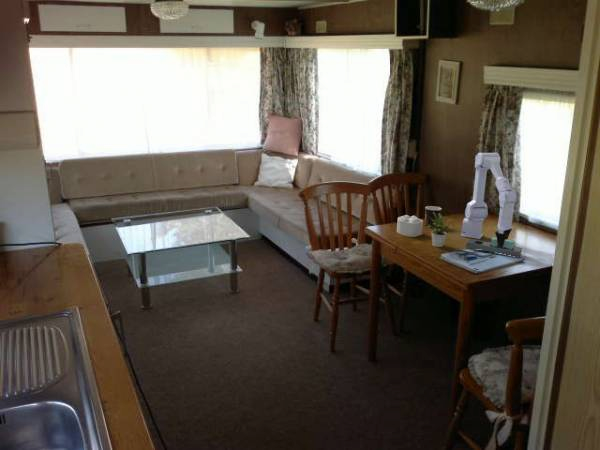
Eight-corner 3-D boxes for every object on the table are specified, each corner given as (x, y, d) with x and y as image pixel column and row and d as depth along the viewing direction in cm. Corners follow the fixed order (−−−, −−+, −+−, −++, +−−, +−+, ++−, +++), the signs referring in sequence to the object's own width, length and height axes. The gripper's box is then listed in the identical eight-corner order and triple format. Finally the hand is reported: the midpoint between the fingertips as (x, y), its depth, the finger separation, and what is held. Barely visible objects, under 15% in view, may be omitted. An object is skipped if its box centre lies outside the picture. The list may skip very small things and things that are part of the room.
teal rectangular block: (490, 249, 258) (491, 238, 256) (491, 248, 260) (492, 237, 259) (512, 253, 253) (513, 242, 252) (513, 252, 255) (515, 241, 254)
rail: (465, 248, 262) (466, 242, 261) (469, 245, 267) (469, 239, 266) (518, 258, 250) (519, 251, 250) (521, 254, 255) (522, 248, 255)
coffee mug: (427, 222, 303) (428, 205, 300) (442, 225, 298) (444, 207, 296) (418, 227, 294) (420, 209, 291) (433, 230, 289) (435, 212, 286)
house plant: (415, 241, 270) (417, 209, 266) (438, 238, 275) (441, 207, 271) (432, 250, 258) (435, 217, 253) (456, 247, 263) (459, 214, 258)
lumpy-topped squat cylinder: (412, 237, 277) (413, 221, 274) (391, 231, 286) (393, 215, 283) (424, 234, 283) (425, 217, 281) (404, 228, 293) (405, 212, 290)
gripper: (511, 221, 244) (507, 250, 248) (517, 214, 256) (514, 242, 260) (495, 218, 248) (491, 247, 252) (502, 212, 260) (498, 239, 263)
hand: (502, 244), depth 256 cm, fingers open, 7 cm apart
